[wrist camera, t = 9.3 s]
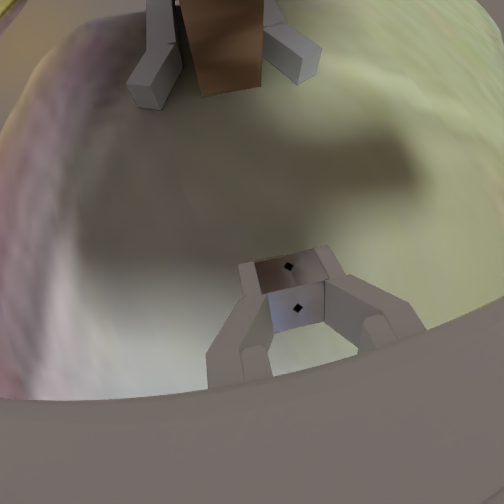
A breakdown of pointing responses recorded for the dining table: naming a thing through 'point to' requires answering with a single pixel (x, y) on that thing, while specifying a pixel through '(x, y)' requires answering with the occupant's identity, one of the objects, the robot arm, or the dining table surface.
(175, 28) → the grey channel
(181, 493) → the robot arm
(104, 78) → the dining table surface
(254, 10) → the walnut plank
